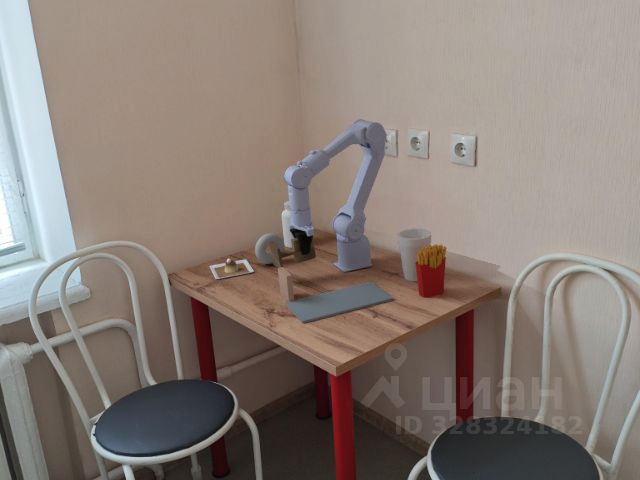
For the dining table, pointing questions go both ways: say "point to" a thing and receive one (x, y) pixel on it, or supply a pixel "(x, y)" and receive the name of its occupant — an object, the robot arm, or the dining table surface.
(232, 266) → the white frame and cone
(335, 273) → the dining table surface
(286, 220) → the pill bottle
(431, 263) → the french fries
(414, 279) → the foam cup
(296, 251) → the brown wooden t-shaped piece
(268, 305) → the dining table surface
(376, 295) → the mat
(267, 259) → the donut
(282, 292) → the tile
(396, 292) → the dining table surface
